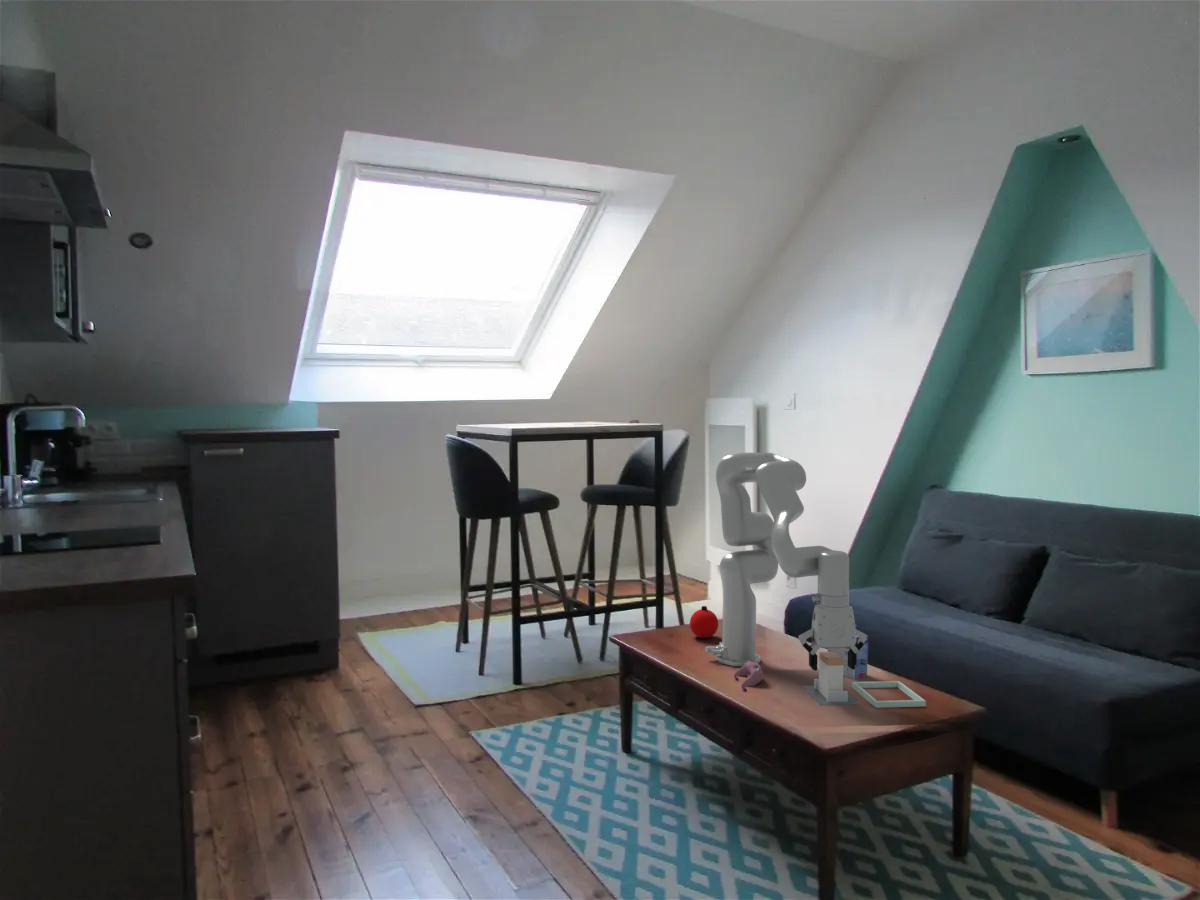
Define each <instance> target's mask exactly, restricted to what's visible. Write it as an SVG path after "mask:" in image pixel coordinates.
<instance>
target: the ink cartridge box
mask: <svg viewBox="0 0 1200 900" xmlns="http://www.w3.org/2000/svg"><path fill="white" fill-rule="evenodd" d="M857 626H858V624H856V623H855V629H856V630H857V628H858V627H857ZM866 635H867V639H866V641H865V643H864V645H863V647H862V648H861V649H860V650H859V652H858V653H857V664H856V665H855V670H852V669H851V668H850V667H848V651H849V650H850V649H849V648H827V651H826V652H836V653H837V654H838V655H839V656H840V657H842V658H843V659H844V665H843V676H845V677H848V678H850V679H855V680H856V679H860V678H864V677H867V676H868V659H869V658H868V656H869V654H868V653H869V635H868V634H866ZM858 640H859V636H857V635H856V642H857V641H858Z"/></svg>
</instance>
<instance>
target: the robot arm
mask: <svg viewBox="0 0 1200 900" xmlns="http://www.w3.org/2000/svg"><path fill="white" fill-rule="evenodd" d="M715 481H716V485H717V489H718V493H719V494H718V495H719V499H720V510H721V511H720V512H721V513H720V514H721V515H720V516H721V526H722V527H721V528H722V536H723V540H724V542H725V544H727V545H728V546H731V547H749V546H752V549H750V550H749V549H748V550H746V549H745V550H738V551H732V552H729V553H727V554H725V555H724V556H723V557H722V559H721V561H720V562H719V573H720V578H721V579H720V580H721V587H722V625H721V626H722V629H721V630H722V631H721V635H722V636H721V637H722V639H721V641H720V642H719V644H718V645H716V646H712V645H707V646H705V653H706V654H711V655H712V656H713V655H714V656H715V655H716V661H718V662H719V663H721V664H724V665H727V666H732V667H743V666H744V665H745V664H746V663H747V662H749V661H750V662H756V663H758V664H759V665H760V663H761V661H762V660H761V656H760V655H759V654H758V653H756V644H757V643H756V642H757V641H756V638H757V636H756V635H757V632H756V631H757V598H756V595H755V593H754V591H753V589H752V587H751V585H753V584H759V583H765V582H770V581H772V580H774V579H775V578H776V576H777V574H778V571H779V567H780V569H781V570H782V572H784V574H785V575H787V576H788V577H790V578H794V579H796V578H797V579H798V578H806V577H814V576H815V577H816V576H817V593H816V595H815V596H812V597H811V600H812V602H813V603H816V604H815V605H814V608H813V613H812V620H811V629H808V630H807V631H805V632H803V633H801V634H799V635H798V640H799V642H800V643H801V646H802V647H803V648H804V649H805V650H806V651H807V652H808V666H809V668H810V669H811V670H813V672H814V671H815V672H817V671H818V654H817V652H818V651H819V649H828V648H849V649H850V650H849V651H848V667H850V668H851V669H852V670H855V665H856V664H857V653H858V652H859V650H860V649H861V648H862V647H863V645H864V643H865V641H866V639H867V635H868V634H865V633H864V632H862V631H861V630H859V629H857V628H856V629H855V624H856V622H855V614H854V609H853V606H851V605H850V557H849V554H848V553H847V552H845V551H841V550H836V549H835V550H832V549H831V548H828V547H826V546H823V545H811V546H809V545H808V546H800V547H796V546H795V544H794V542H793V540H792V538H791V536H790V524H791V523H793V522H794V521H796V520H797V519H798V518H800V517H801V516H802V514H804V511H805V508H804V507H805V506H804V504H803V502H802V501H801V499H800V496H799V494H798V492H797V491H800V490H802V489H803V488H804V487H805V485H806V483H807V473H806V471H805V469H804V467H803V466H802V464H800V463H799V462H798V461H795V460H793V459H790V458H788V457H785V456H782V455H779V454H776V453H773V452H764V451H763V452H736V453H730V454H728V455H725V456H724V457H722V458H721V459H720V460H719V462H718V464H717V466H716V469H715ZM745 483H756V485H757V486H758V488H759V491H760V492H761V494H762V497H763V498H764V501H765V503H766V505H767V508H768V510H769V512H770V514H771V516H772V517H771V516H770V515H769V514H768V513H765V512H763V511H754V512H753V511H752V506H751V497H750V495H749V493H748V490H747V489H746V488H745V486H744V485H743V484H745ZM856 635H857V636H859V640H858V641H857V642H856ZM809 638H810V640H811V643H810V645H809V642H807V639H809Z"/></svg>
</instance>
